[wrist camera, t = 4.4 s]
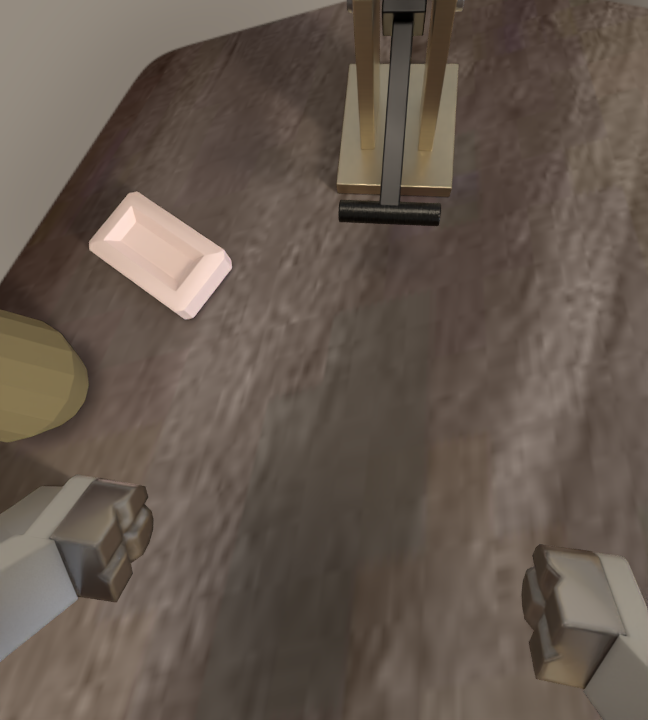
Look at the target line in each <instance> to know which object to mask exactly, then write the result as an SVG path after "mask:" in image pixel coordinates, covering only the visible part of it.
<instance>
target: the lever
mask: <svg viewBox="0 0 648 720" xmlns="http://www.w3.org/2000/svg"><path fill="white" fill-rule="evenodd" d="M426 4H427V0H383V2H382V28H383V36H392V37H391V50H390V64H389V78H388V92H387V106H386V120H385V134H384V147H383V161H382V175H381V189H380V201H361V200H340V203H339V222H350V223H374V224H398V225H422V226H438V225H439V221H440V213H441V204H440V203H417V202H400V194H401V182H402V169H403V156H404V143H405V130H406V118H407V105H408V92H409V79H410V66H411V53H412V41H413V36H422V35H423V32H424V23H425V14H426Z"/></svg>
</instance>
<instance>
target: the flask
mask: <svg viewBox="0 0 648 720" xmlns="http://www.w3.org/2000/svg"><path fill="white" fill-rule="evenodd" d="M61 488H62V487H59V486H41V487H39V488H38V489H36V490H35V491H33V492H32V493H30V494H29V495H27V496H26V497H25V498H23V499H22V500H20V501H19V502H18V503H16V504H15V505H13V506H12V507H10V508H9V509H7V510H6V511H4V512H3V513H1V514H0V543H1V542H3V541H4V540H6V539H8V538H10V537H12V536H14V535H15V534H22V535H23V534H24V533H25V532H26V531H27V530H28V528H29V527H30V526H31V525H32V524H33V522H34V521H35V520H36V519H37V517H38V516H39V515H40V514H41V513H42V511H43V510H44V509H45V508H46V507H47V505H48V504H49V503H50V502H51V501H52V499H53V498H54V497H55V496H56V494H57V493H58V492H59V491H60V490H61Z"/></svg>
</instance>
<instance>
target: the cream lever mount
mask: <svg viewBox="0 0 648 720" xmlns="http://www.w3.org/2000/svg"><path fill="white" fill-rule="evenodd" d="M463 6H464V0H432V9H431V18H430V27H429V35H428V44H427V53H426V62H425V64H411V66H410V79H409V92H408V105H407V118H406V130H405V143H404V156H403V169H402V182H401V194H400V195H408V196H437V197H449V196H450V193H451V189H452V175H453V157H454V139H455V121H456V103H457V85H458V67H459V65H458V64H447V58H448V52H449V46H450V40H451V34H452V28H453V22H454V16H455V12H461V11H462V10H463ZM347 11H348V13H353V21H354V39H355V56H356V64H349V70H348V80H347V89H346V98H345V108H344V117H343V126H342V136H341V145H340V154H339V164H338V173H337V182H336V185H337V192H338V193H349V194H379V195H380V189H381V175H382V161H383V147H384V134H385V120H386V106H387V92H388V78H389V64H380V0H347Z"/></svg>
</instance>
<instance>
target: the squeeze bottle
mask: <svg viewBox="0 0 648 720" xmlns="http://www.w3.org/2000/svg"><path fill="white" fill-rule="evenodd" d="M88 387H89V382H88V374H87V369H86V367H85V365H84V364H83V362H82V360H81V359H80V357H79V356H78V354H77V353H76V352H75V351H74V349H73V348H72V347H71V346H70V344H69V343H68V342H67V341H66V339H65V338H64V337H63V336H62V334H61V333H60V332H58V331H57V330H55V329H53V328H52V327H50V326H49V325H47V324H46V323H44V322H43V321H39V320H36V319H32V318H29V317H25V316H22V315H18V314H14V313H11V312H7V311H4V310H0V441H2V442H12V441H16V440H20V439H24V438H28V437H32V436H35V435H37V434H40V433H42V432H45V431H47V430H50V429H53V428H55V427H58V426H60V425H62V424H64V423H65V422H66V421H68V420H69V419H71V418H72V417H73V416H75V415H76V413H77V412H78V410H79V409H80V407H81V406H82V404H83V403H84V401H85V398H86V394H87V390H88Z"/></svg>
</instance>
